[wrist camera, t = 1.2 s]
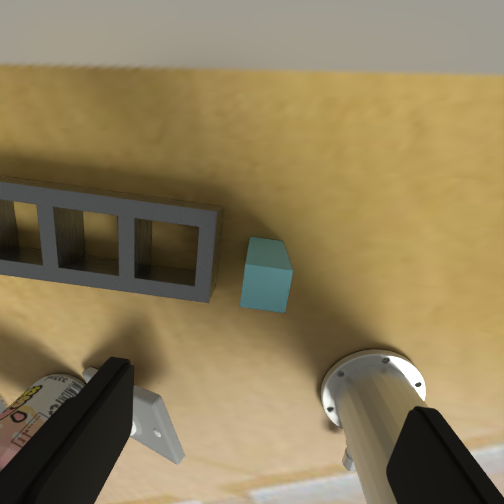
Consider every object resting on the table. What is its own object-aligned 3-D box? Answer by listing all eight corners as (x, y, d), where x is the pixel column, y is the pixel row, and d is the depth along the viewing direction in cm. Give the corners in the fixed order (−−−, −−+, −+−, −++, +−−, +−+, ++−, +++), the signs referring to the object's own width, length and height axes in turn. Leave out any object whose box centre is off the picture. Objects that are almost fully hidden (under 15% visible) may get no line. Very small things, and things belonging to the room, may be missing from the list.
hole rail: (215, 286, 30) (208, 303, 26) (7, 258, 29) (-30, 270, 26) (223, 206, 27) (217, 211, 23) (-5, 174, 27) (-49, 174, 23)
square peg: (277, 271, 29) (285, 313, 20) (245, 267, 29) (239, 306, 20) (283, 241, 28) (293, 270, 19) (250, 236, 28) (245, 264, 19)
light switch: (73, 377, 32) (144, 411, 24) (116, 346, 37) (188, 367, 29) (99, 428, 34) (172, 475, 26) (137, 393, 39) (208, 424, 31)
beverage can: (68, 430, 37) (-19, 546, 25) (19, 394, 35) (-97, 500, 24) (109, 398, 35) (35, 508, 23) (60, 358, 33) (-47, 455, 22)
